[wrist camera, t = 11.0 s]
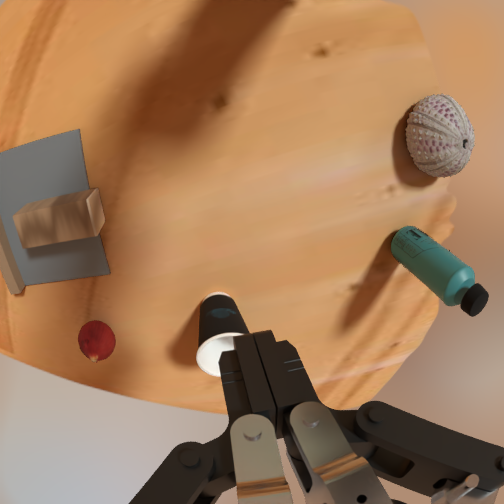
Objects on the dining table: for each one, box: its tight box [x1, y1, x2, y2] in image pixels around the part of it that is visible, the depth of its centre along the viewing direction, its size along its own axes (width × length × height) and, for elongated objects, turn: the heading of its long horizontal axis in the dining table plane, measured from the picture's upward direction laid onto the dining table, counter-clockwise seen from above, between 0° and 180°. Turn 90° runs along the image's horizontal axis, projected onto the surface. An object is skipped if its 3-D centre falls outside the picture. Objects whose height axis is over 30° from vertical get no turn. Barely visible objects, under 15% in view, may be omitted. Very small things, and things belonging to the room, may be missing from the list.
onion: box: [78, 320, 116, 363], centre depth 40 cm, size 6×6×8 cm
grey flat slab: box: [0, 129, 110, 294], centre depth 33 cm, size 20×17×2 cm
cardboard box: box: [13, 188, 105, 249], centre depth 33 cm, size 4×4×11 cm
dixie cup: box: [196, 292, 250, 377], centre depth 42 cm, size 8×8×11 cm
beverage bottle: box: [391, 226, 489, 317], centre depth 40 cm, size 6×7×20 cm
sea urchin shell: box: [405, 94, 475, 178], centre depth 37 cm, size 13×14×8 cm
